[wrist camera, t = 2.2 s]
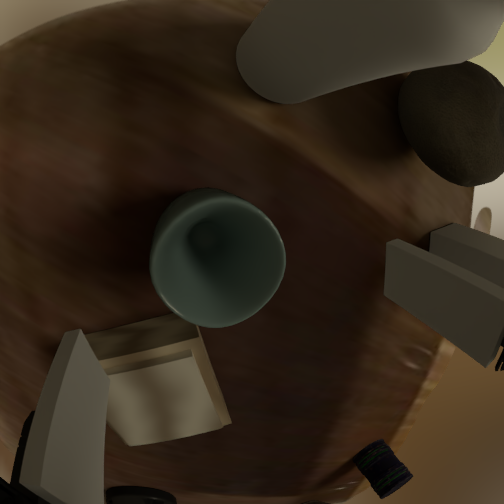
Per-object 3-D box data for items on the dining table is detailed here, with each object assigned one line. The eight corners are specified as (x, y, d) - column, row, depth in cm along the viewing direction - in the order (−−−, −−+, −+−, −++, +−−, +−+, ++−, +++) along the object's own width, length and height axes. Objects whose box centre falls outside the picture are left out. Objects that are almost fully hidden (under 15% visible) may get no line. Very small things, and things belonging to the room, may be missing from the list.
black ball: (358, 61, 23) (470, 30, 10) (431, 74, 26) (519, 68, 13) (377, 181, 29) (493, 208, 15) (443, 170, 32) (532, 189, 18)
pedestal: (126, 414, 28) (126, 451, 23) (76, 336, 24) (63, 373, 18) (221, 393, 31) (234, 429, 26) (192, 307, 27) (201, 343, 21)
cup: (137, 228, 23) (120, 271, 14) (201, 164, 23) (226, 166, 14) (198, 285, 26) (219, 349, 17) (258, 227, 26) (310, 264, 17)
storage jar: (345, 462, 52) (373, 502, 39) (373, 438, 52) (405, 478, 38) (363, 461, 56) (389, 495, 43) (389, 438, 56) (418, 473, 42)
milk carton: (425, 275, 36) (523, 331, 19) (429, 231, 34) (541, 278, 17) (449, 262, 38) (538, 308, 21) (453, 222, 35) (551, 260, 18)
